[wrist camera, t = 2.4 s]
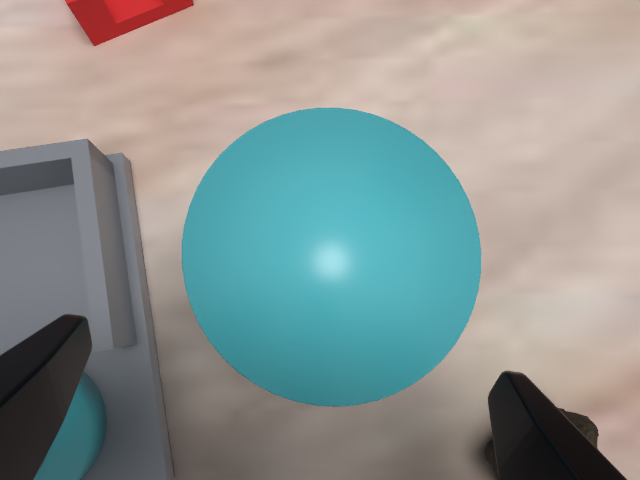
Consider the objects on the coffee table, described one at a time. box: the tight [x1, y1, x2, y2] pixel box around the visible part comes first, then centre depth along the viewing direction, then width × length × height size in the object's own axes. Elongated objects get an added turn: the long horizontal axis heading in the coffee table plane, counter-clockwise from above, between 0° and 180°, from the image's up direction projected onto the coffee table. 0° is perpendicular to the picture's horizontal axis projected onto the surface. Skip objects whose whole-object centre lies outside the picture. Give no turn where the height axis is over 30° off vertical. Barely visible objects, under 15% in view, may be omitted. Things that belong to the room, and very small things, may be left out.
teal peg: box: [182, 108, 481, 406], centre depth 12 cm, size 5×5×13 cm
